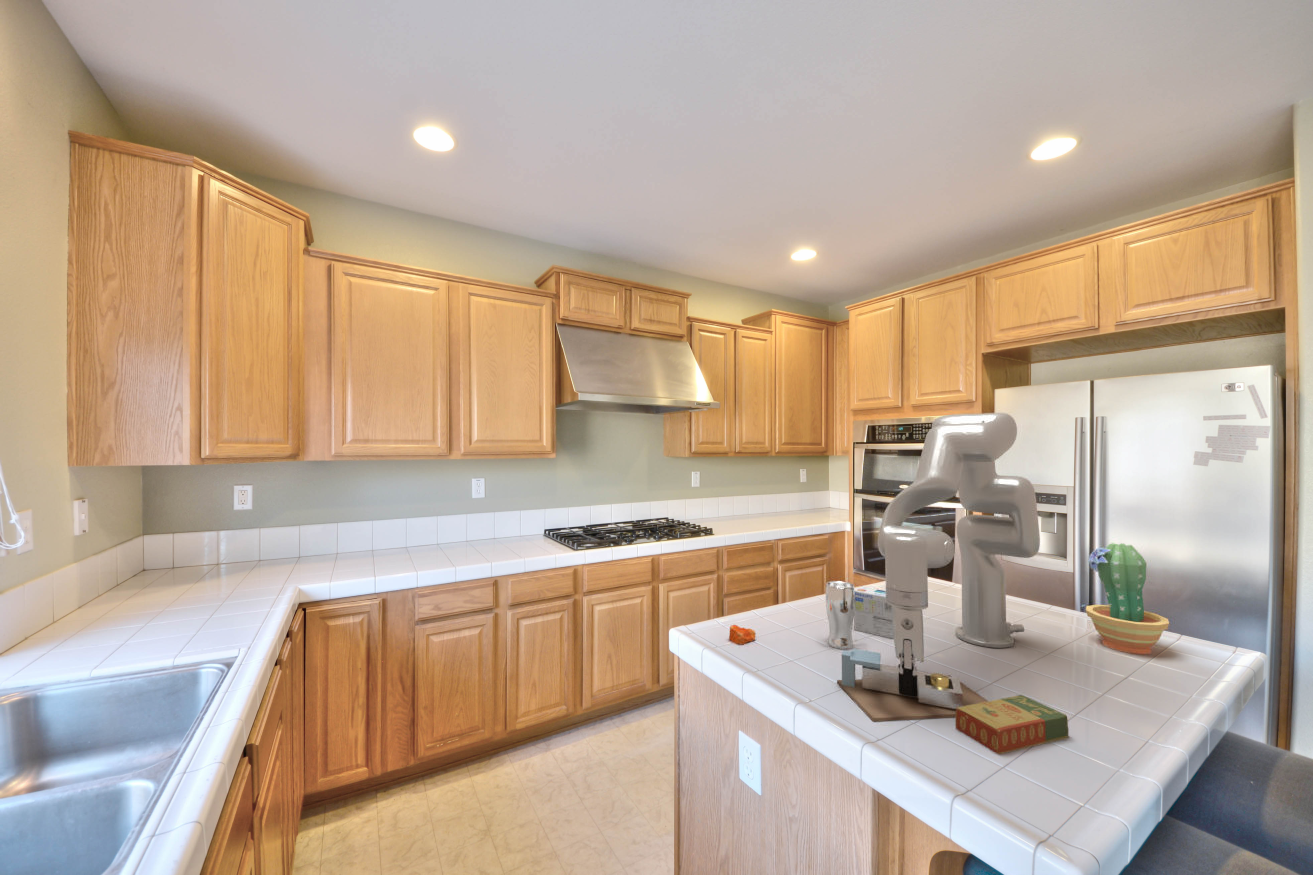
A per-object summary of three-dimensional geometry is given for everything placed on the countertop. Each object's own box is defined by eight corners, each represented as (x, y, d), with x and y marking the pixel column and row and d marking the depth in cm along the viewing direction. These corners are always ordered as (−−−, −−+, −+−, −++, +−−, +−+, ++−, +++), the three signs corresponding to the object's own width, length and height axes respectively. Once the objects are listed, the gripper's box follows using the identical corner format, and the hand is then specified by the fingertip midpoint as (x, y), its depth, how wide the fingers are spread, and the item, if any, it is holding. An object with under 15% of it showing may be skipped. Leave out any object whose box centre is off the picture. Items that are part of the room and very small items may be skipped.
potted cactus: (1097, 631, 136) (1095, 536, 137) (1179, 650, 124) (1176, 546, 124) (1075, 643, 128) (1073, 543, 128) (1160, 665, 115) (1157, 553, 116)
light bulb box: (903, 632, 136) (902, 592, 136) (895, 640, 131) (894, 597, 131) (862, 623, 143) (861, 584, 143) (853, 630, 138) (852, 590, 138)
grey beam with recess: (958, 693, 100) (958, 672, 100) (962, 710, 94) (962, 688, 94) (864, 676, 108) (863, 657, 108) (861, 691, 101) (861, 671, 101)
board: (950, 678, 109) (950, 675, 109) (1003, 714, 94) (1003, 711, 94) (837, 683, 107) (836, 680, 107) (873, 721, 92) (873, 718, 92)
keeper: (880, 686, 106) (880, 652, 106) (880, 699, 100) (879, 664, 100) (843, 679, 109) (843, 647, 109) (841, 691, 103) (840, 657, 103)
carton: (954, 730, 90) (954, 705, 90) (1021, 715, 95) (1021, 691, 95) (999, 757, 82) (998, 729, 82) (1069, 739, 87) (1069, 713, 87)
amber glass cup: (942, 696, 100) (942, 672, 100) (952, 703, 97) (952, 679, 97) (927, 696, 100) (927, 673, 100) (937, 704, 97) (937, 680, 97)
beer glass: (851, 639, 131) (850, 581, 131) (859, 650, 124) (858, 588, 124) (823, 639, 132) (822, 580, 132) (829, 649, 125) (829, 587, 125)
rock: (776, 645, 130) (776, 628, 130) (741, 656, 123) (741, 638, 123) (742, 630, 139) (742, 615, 140) (708, 640, 133) (708, 624, 133)
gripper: (930, 611, 92) (932, 714, 92) (925, 588, 107) (927, 676, 107) (884, 606, 95) (886, 705, 95) (886, 584, 110) (887, 670, 110)
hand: (907, 689), depth 101 cm, fingers closed on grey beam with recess, 3 cm apart
